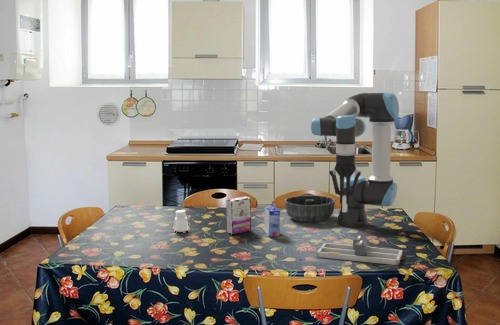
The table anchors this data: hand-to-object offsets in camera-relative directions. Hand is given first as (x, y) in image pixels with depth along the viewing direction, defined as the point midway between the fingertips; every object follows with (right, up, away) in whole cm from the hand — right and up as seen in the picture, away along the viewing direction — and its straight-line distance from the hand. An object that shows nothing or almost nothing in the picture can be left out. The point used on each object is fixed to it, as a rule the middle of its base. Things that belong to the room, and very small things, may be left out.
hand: (344, 211), depth 231 cm
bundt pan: (-8, -9, +63) cm, 64 cm away
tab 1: (+6, -17, 0) cm, 18 cm away
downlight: (-71, -13, +42) cm, 84 cm away
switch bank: (+5, -19, -3) cm, 20 cm away
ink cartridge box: (-28, -14, +35) cm, 47 cm away
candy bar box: (-44, -13, +39) cm, 60 cm away
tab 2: (+5, -18, -6) cm, 20 cm away
